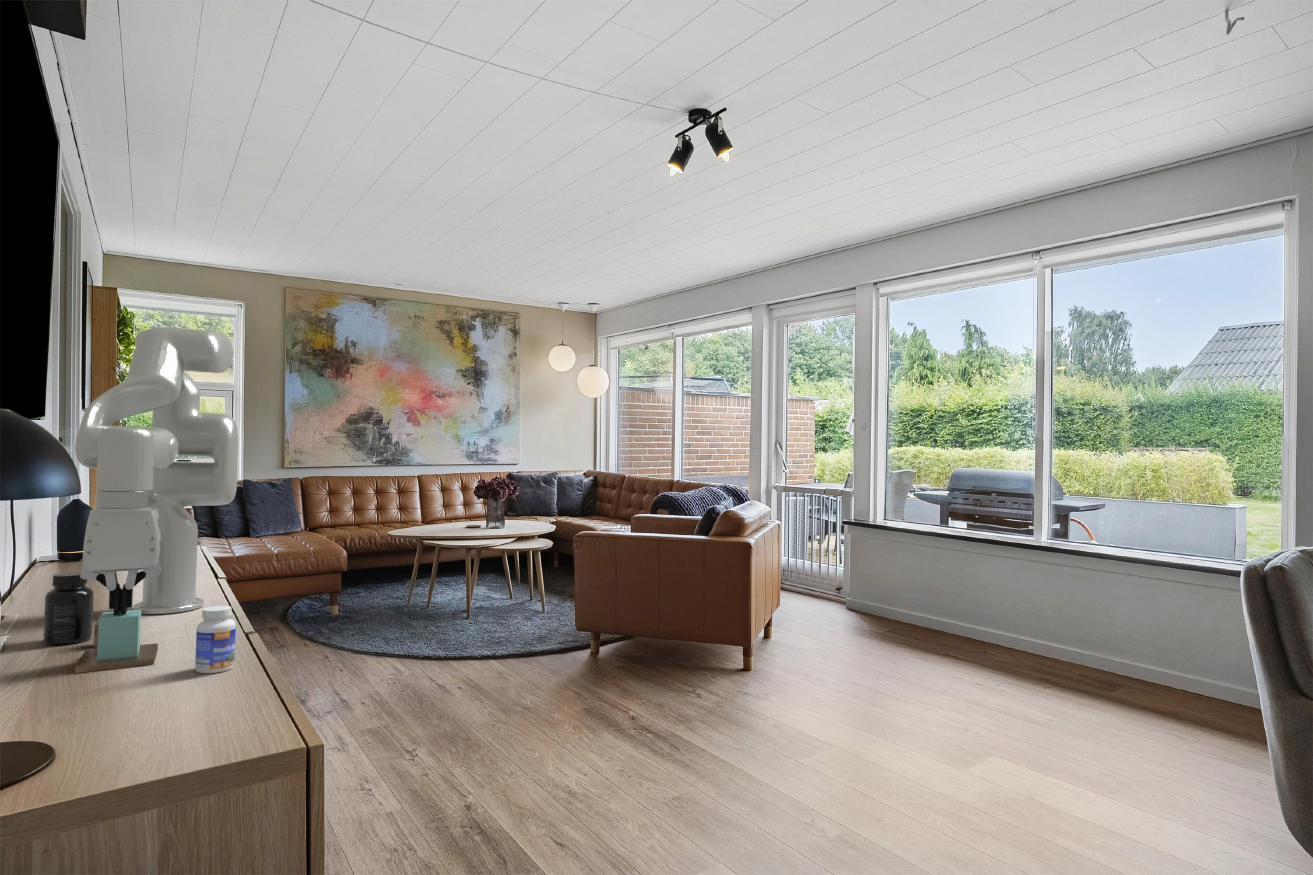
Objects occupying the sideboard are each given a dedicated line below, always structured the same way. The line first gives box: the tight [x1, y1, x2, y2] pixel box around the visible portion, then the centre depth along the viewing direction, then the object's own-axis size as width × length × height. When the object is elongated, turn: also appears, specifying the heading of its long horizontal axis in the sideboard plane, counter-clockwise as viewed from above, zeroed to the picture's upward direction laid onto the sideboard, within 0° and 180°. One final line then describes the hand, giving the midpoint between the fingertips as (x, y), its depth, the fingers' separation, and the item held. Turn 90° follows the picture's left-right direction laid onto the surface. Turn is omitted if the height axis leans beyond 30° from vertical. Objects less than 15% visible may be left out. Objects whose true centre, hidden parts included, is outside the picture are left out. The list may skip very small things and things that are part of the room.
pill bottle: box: [194, 605, 237, 674], centre depth 115 cm, size 5×5×10 cm
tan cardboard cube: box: [93, 620, 99, 649], centre depth 126 cm, size 3×3×4 cm
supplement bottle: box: [43, 571, 94, 646], centre depth 128 cm, size 7×7×12 cm
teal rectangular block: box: [96, 609, 142, 661], centre depth 118 cm, size 5×5×7 cm
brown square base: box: [74, 643, 159, 674], centre depth 118 cm, size 10×10×7 cm
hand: (120, 612), depth 118 cm, fingers closed
